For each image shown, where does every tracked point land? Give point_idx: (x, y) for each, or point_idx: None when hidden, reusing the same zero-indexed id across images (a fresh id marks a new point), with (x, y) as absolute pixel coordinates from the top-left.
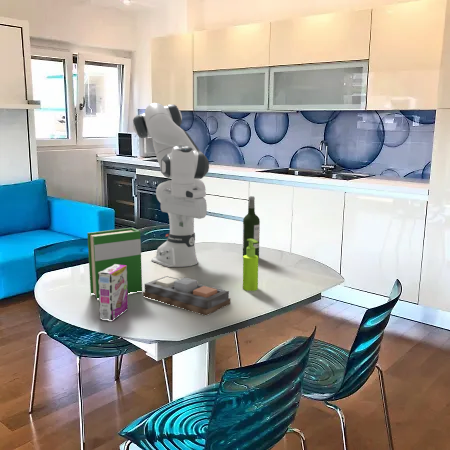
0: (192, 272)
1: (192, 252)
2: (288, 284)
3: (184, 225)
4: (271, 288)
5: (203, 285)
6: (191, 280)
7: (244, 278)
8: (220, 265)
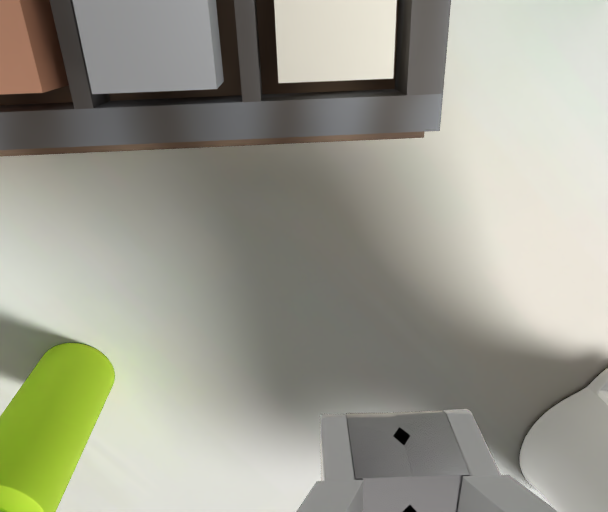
0: (463, 377)
1: (564, 503)
2: None
3: (321, 443)
4: None
5: (103, 138)
6: (119, 61)
7: (57, 382)
8: None
